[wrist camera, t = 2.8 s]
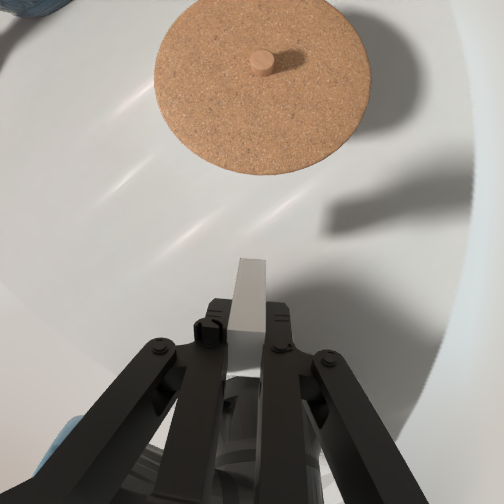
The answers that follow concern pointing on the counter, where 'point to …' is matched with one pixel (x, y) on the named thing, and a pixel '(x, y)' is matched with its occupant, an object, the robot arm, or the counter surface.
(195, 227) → the counter surface
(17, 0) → the canister
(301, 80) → the lidded jar
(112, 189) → the counter surface
